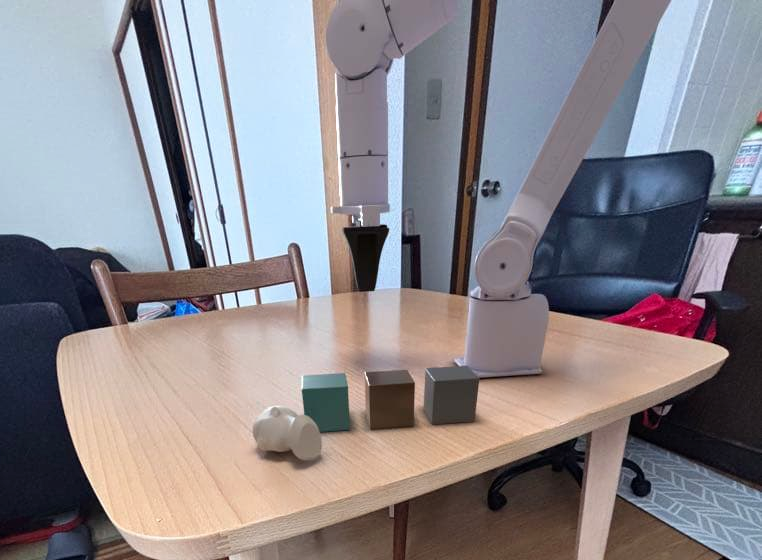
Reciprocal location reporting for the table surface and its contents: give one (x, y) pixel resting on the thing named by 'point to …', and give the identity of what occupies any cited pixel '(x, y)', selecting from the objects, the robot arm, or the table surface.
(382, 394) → the walnut block
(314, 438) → the smooth white sculpture
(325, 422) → the teal block
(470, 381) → the grey block
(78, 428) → the table surface
